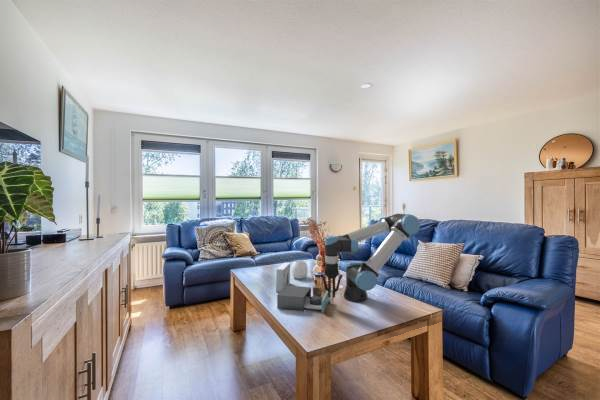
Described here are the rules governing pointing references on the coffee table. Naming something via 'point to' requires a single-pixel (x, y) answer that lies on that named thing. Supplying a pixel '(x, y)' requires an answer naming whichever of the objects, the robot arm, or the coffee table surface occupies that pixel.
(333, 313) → the coffee table surface
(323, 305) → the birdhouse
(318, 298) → the puck
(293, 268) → the cup
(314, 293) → the walnut block
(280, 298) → the player housing
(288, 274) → the skincare box
